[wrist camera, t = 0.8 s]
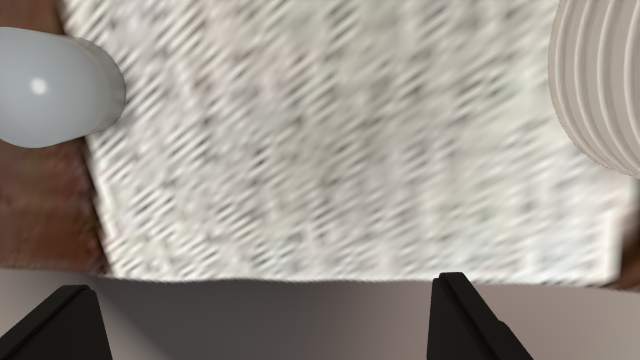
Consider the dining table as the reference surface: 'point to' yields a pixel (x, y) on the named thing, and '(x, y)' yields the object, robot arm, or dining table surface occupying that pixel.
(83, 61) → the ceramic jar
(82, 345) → the robot arm
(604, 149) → the plate stack
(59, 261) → the dining table surface
